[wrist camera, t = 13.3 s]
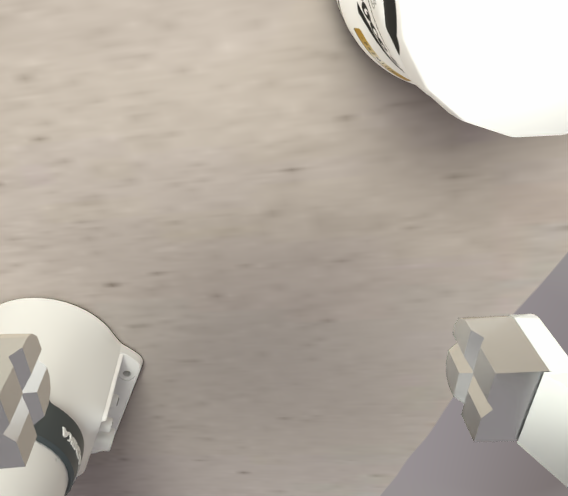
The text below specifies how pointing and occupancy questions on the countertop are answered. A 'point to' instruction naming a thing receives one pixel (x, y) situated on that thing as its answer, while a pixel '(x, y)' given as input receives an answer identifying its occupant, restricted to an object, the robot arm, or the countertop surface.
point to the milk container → (475, 57)
